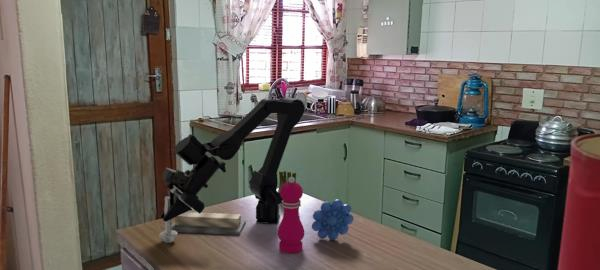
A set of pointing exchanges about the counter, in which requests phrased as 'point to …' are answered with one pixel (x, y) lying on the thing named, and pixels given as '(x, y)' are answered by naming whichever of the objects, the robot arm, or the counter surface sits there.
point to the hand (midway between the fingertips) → (162, 219)
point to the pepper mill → (291, 218)
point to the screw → (168, 225)
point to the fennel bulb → (283, 178)
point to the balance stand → (209, 223)
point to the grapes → (332, 219)
